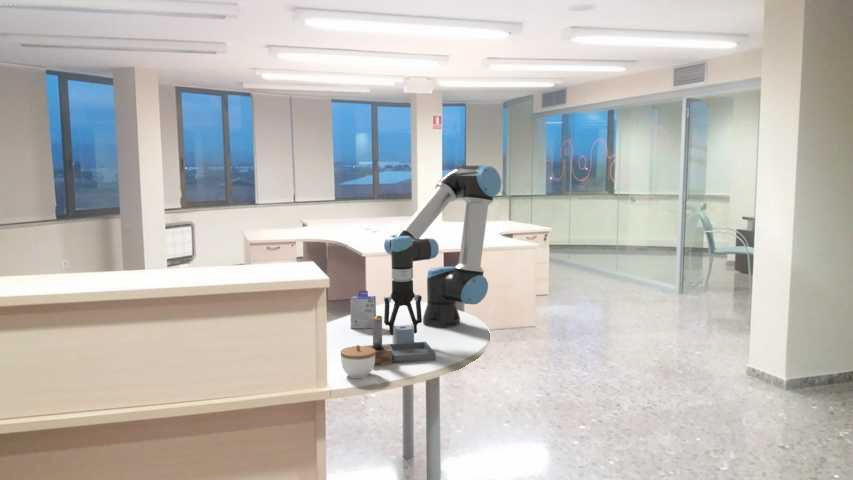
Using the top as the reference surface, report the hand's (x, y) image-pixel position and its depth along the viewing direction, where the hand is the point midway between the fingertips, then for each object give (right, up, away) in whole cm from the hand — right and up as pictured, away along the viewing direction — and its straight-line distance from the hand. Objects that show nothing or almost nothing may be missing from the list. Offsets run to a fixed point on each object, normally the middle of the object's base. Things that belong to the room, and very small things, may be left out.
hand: (403, 342), depth 234 cm
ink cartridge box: (-17, +2, +26) cm, 31 cm away
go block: (-8, -3, -19) cm, 21 cm away
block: (0, 0, 0) cm, 0 cm away
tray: (+3, -2, -13) cm, 13 cm away
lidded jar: (-13, -5, -33) cm, 36 cm away
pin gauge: (-8, -2, -20) cm, 21 cm away
